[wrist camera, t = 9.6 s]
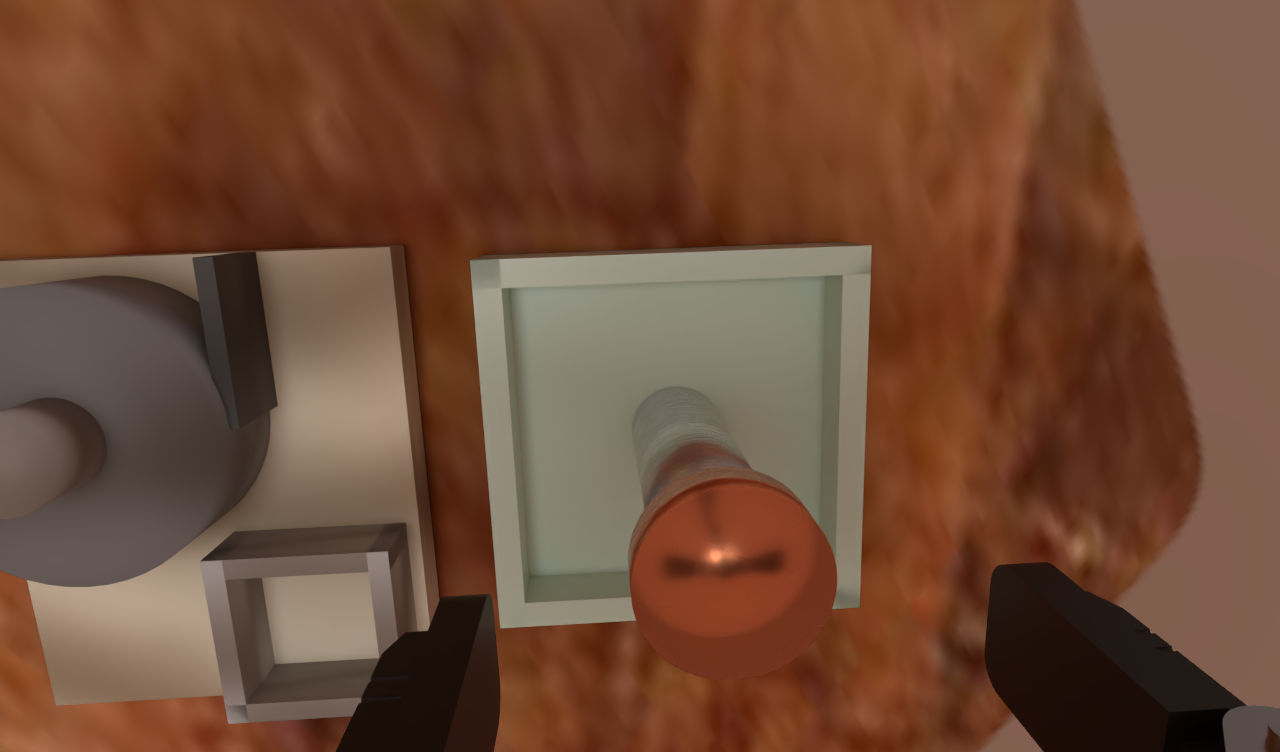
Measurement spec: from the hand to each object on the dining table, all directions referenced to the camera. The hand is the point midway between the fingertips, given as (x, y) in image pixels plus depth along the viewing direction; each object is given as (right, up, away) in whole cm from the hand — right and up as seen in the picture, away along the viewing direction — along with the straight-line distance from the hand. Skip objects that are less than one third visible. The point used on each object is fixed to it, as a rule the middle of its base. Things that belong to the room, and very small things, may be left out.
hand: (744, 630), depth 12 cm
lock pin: (0, +2, +12) cm, 12 cm away
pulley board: (-15, +1, +12) cm, 19 cm away
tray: (-1, +3, +12) cm, 13 cm away
